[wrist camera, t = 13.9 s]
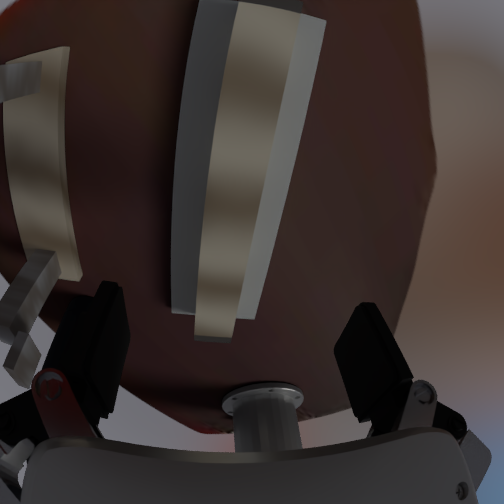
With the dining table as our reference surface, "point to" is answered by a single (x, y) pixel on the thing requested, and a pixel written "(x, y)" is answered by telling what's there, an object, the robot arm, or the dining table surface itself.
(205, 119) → the mat
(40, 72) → the rack
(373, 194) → the dining table surface
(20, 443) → the robot arm
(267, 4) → the rail
